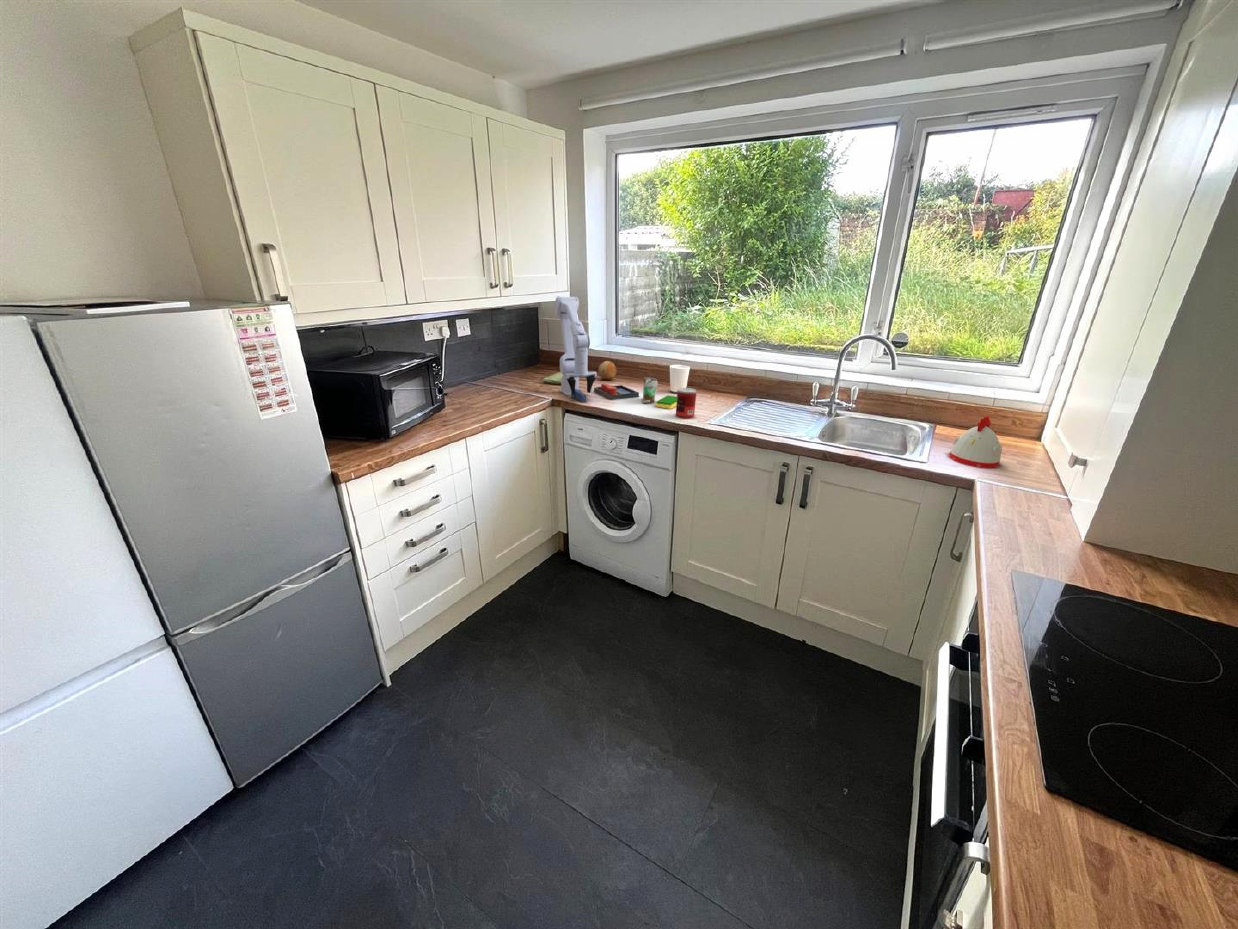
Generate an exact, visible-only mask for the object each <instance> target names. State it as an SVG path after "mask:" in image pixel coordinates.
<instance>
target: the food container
mask: <svg viewBox="0 0 1238 929" xmlns="http://www.w3.org/2000/svg"><path fill="white" fill-rule="evenodd" d="M658 385H659V382H658V379H656V378H654V377H648V376H644V377H643V391H642V392H643V393H642V402H643V404H644V405H650V404H654V403H655V398H656V392H657V391H656V390H657V386H658Z"/></svg>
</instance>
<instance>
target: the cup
mask: <svg viewBox="0 0 1238 929" xmlns="http://www.w3.org/2000/svg"><path fill="white" fill-rule="evenodd" d="M690 369H691V367H690V366H689V365H685V364H672V365H669V390H670V392H671V393H673V394H677V391H678V389H679V388H687V386H688V381H689V379H688V378H689V375H690Z"/></svg>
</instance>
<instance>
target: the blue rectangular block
mask: <svg viewBox="0 0 1238 929" xmlns="http://www.w3.org/2000/svg"><path fill="white" fill-rule="evenodd" d="M570 398H571V399H575V400H577V401H579V402H580V403H587V394H586V393H584V392H582V389H580V388H579V389H575V394H572V392H571V395H570Z"/></svg>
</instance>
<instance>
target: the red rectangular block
mask: <svg viewBox="0 0 1238 929" xmlns="http://www.w3.org/2000/svg"><path fill="white" fill-rule="evenodd" d="M612 386H613V385H609V384H607V383H601V385H600V387H601V390H602V391H604V392H606V393H608V394H610V395H616V394H617V388H616V387H612Z"/></svg>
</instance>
